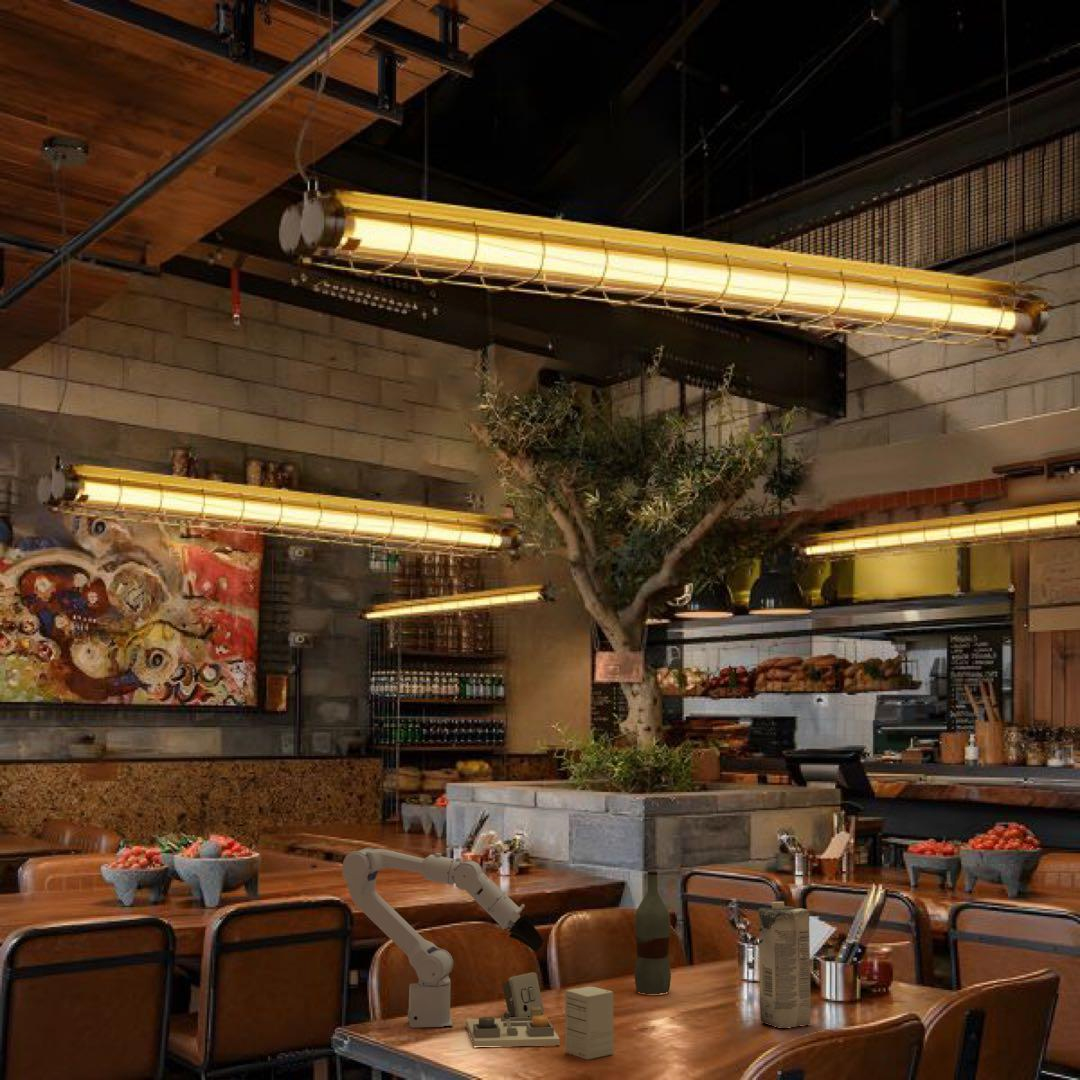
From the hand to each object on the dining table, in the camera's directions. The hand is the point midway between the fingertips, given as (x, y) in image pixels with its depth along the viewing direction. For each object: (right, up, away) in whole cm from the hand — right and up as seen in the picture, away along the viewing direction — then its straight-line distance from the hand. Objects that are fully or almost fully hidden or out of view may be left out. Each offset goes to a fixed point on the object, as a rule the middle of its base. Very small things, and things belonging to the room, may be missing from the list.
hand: (540, 946), depth 300 cm
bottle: (+28, -24, +39) cm, 54 cm away
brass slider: (-1, -16, -2) cm, 16 cm away
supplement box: (+10, -15, -23) cm, 29 cm away
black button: (-11, -13, -13) cm, 22 cm away
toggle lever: (-6, -14, -13) cm, 20 cm away
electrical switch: (-4, -20, +12) cm, 24 cm away
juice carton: (+56, -19, +5) cm, 59 cm away
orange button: (0, -13, -12) cm, 18 cm away
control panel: (-6, -17, -8) cm, 20 cm away
